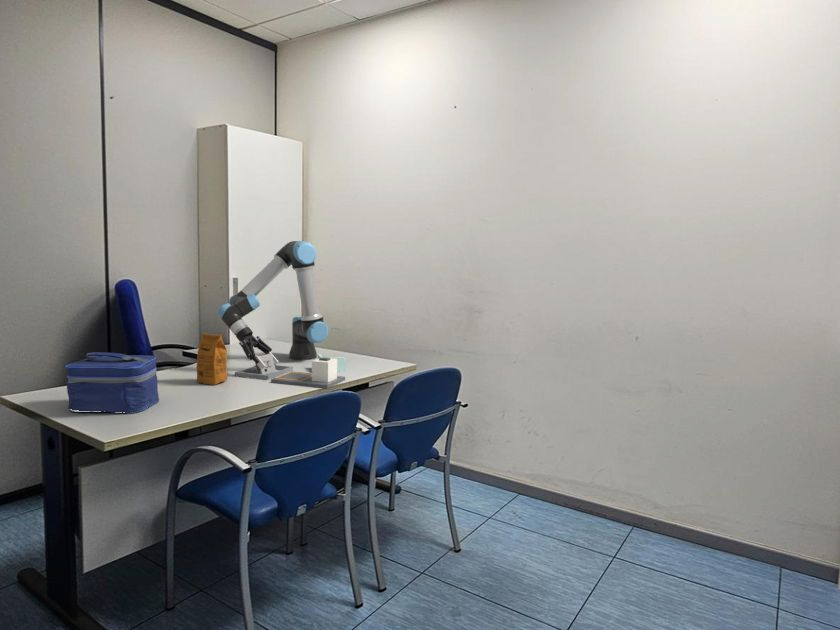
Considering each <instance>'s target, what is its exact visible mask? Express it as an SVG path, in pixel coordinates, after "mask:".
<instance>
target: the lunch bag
mask: <svg viewBox="0 0 840 630" xmlns="http://www.w3.org/2000/svg"><path fill="white" fill-rule="evenodd" d="M157 369H158V368H157V357H156V356H155V355H143V354H141V355H139V354H138V355H135V354H133V355H129V354H128V355H127V354H125V353H116V352H102V351H101V352H100V351H99V352H97V351H93V352H88V353H86V355H85V359H81V360H78V361H74V362H72V363H70V364H66V365H65V372H66V378H67V379H66V381H65V382H66V391H67V392H66V393H67V396H68V407H67V408H68V409H72V410H79V411H101V412H104V411H105V412H122V413H123V412H125V413H127V414H133V413H132V412H137V413H140V412H142V410H143V411H145V410H147V409H148V408H147V407H149V406H150V407H152V406H153V405H156V403H159V401H160V397H159V391H158V388H159V386H158V375H157V372H158V371H157ZM151 405H152V406H151ZM150 407H149V408H150ZM146 408H147V409H146ZM68 409H67V410H68ZM144 409H145V410H144ZM139 411H140V412H139Z"/></svg>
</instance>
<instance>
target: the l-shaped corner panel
mask: <svg viewBox="0 0 840 630" xmlns="http://www.w3.org/2000/svg"><path fill="white" fill-rule="evenodd" d="M322 357H323V355H322V354H321V353H317V359H319V358H322ZM330 358H331V359H337V373H347V357H346V356H339V357H330Z"/></svg>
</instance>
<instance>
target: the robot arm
mask: <svg viewBox="0 0 840 630" xmlns="http://www.w3.org/2000/svg"><path fill="white" fill-rule="evenodd" d="M316 258H317V250H316V247H315V246H314V244H312V243H311V242H309V241H304V240H292V241H289V242H287V243H286V244H284V245H283V246H282V248H280V249H278V251H277V252H276V253H275V254H274V255H273V259H272V260H270V261H269V263H267V265H266V266H265V267H264V268H262V270H260V271H259V273H257V274H256V275H255V276H254V277H253V278H252V279H251V280H250V281H249V282H248V283H247V284H246V285H245V286H243V288H242V289H240V291H238V293H236V294H234V295H231V297H230V298H229V299H228V303H224V304H222V305H220V307H219V308H218V309H217V315H218V317H219V318H220V319H221V321H222V322H223V323H224V324H225V325H226V326H227V328H228V329H229V330H230V331H231V332H232V334H233V335H234V336H235V338H236V339H237V340H238V341H239V343H238V344H239V346H241V349H242V350H243V352H244V354H245V357H246V358H247V359H249V360H250V361H252V360H253V362H254V363H256V364H257V365H258V366H259V367H260V369H261V370H262V369H263V368H264V367H265V364H264V363H263V362H262V361H261V359H260V358H259V357H258V355H256V352H255V349H257V350H260V351H262V353H263V354H264V355H267V354H272V356H273V360H274V365H278V363H279V360H278V359H277V358H276V356H275V355H274V354H273V353H272V350H273V349H272V348H271V346H269V345H268V344H267V343H266V342H265V341H264V340H262V339H261V337H260V336H258V335H256V336H254V334H253V333H254V332H253V330H252V329H251V328H250V327H249V326H248V324H247V323H246V322H245V321H244V319H243V317H245V316H247V315H249V314H250V313H252V312H253V311H255V310H256V309H258V308H259V307H260V305H261V303H260V300H259V299H258V297H257V296H258V295H259V294H260V293H261V292H262V291H263V290H264V289H265V288H266V287H267V286H268V285H269V284H270V283H271V282H273V281H274V279H276V277H277V276H279V274H280V273H282V272H283V270H286V269H288V268H290V267H292V270H294V271H295V274H296V280H297V285H298V291H299V299H300V304H301V309H302V310H301V311H302V316H294V317H293V318H292V323H291V328H292V332H291V333H292V337H291V338H292V340H291V341H292V343H291V347H290V350H289V353H288V356H289V358H290V359H291V360H301V359H304V360H312V358H313V359H315V358H316V359H317V358H318V353H317V350H316V347H315V344H319V343H322V342H324V341H325V340H326V338H327V337H328V335H329V327H328V325H327V324H326V323H325V322H324V316H323V314H321V313H320V308H319V301H318V297H317V289H316V284H315V276H314V268H315V266H316V264H315V260H316ZM314 343H315V344H314ZM256 364H255V365H256Z"/></svg>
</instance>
